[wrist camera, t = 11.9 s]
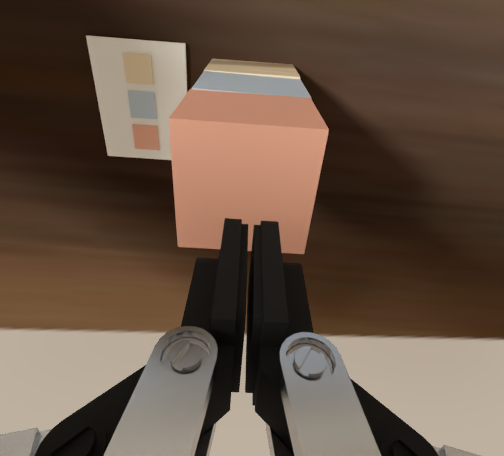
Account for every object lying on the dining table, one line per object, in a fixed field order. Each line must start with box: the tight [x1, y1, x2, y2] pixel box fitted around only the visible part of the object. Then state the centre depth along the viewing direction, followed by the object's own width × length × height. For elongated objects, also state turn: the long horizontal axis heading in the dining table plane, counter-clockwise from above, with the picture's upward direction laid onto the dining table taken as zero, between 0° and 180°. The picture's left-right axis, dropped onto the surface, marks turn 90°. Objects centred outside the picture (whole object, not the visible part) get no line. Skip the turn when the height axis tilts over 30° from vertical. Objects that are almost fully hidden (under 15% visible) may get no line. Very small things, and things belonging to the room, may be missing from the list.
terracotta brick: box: [169, 89, 329, 254], centre depth 16 cm, size 6×6×5 cm
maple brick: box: [204, 59, 300, 79], centre depth 24 cm, size 6×6×5 cm
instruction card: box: [86, 35, 188, 160], centre depth 26 cm, size 9×7×1 cm
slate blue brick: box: [192, 71, 312, 100], centre depth 20 cm, size 6×6×5 cm
